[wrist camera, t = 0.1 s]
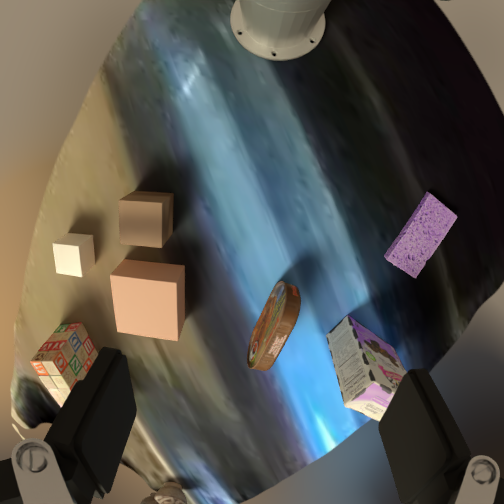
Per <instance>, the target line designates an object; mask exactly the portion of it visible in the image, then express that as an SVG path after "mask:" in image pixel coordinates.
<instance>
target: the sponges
mask: <svg viewBox="0 0 504 504" xmlns="http://www.w3.org/2000/svg"><path fill="white" fill-rule="evenodd" d="M456 218H457V216H456V215H455V214H454V213H453V212H452V211H450V210H449V209H448V208H447V207H446V206H444V205H443V204H442V203H441V202H440V201H439V200H437V199H436V198H435V197H434V196H433V195H432V194H430V193H429V192H426V194H425V196H424V197H423V199H422V200H421V202H420V204H419V205H418V207H417V209H416V210H415V212H414V213H413V214H412V216H411V218H410V219H409V221H408V222H407V224H406V225H405V227H404V228H403V229H402V231H401V232H400V234H399V235H398V237H397V238H396V239H395V241H394V242H393V244H392V245H391V246H390V248H389V249H388V251H387V252H386V254H385V255H384V257H385V258H386V259H387V260H388V261H390V262H391V263H392V264H394V265H395V266H398V267H399V268H400V269H402V270H403V271H405V272H406V273H408V274H409V275H411V276H412V277H414V278H416V277H417V275H418V274H419V272H420V271H421V270H422V268H423V267H424V265H425V264H426V261H427V260H428V259H429V258H430V257H431V256H432V254H433V253H434V251H435V250H436V249H437V247H438V246H439V244H440V243H441V241H442V240H443V238H444V237H445V235H446V234H447V232H448V231H449V229H450V227H451V226H452V225H453V223H454V222H455V220H456Z"/></svg>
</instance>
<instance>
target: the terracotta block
mask: <svg viewBox="0 0 504 504" xmlns="http://www.w3.org/2000/svg"><path fill="white" fill-rule="evenodd" d="M110 279H111V288H112V296H113V304H114V312H115V319H116V325H117V332H122V333H128V334H134V335H140V336H147V337H153V338H160V339H167V340H174V341H178V339H179V336H180V333H181V331H182V328H183V325H184V322H185V266H184V265H174V264H165V263H155V262H146V261H137V260H128V259H124V260H123V261H122V262H121V263H120V264H119V266H118V267H117V268H116V269H115V270H114V271H113V272H112V273H111V275H110Z"/></svg>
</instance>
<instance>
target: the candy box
mask: <svg viewBox="0 0 504 504" xmlns="http://www.w3.org/2000/svg"><path fill="white" fill-rule="evenodd" d="M326 338H327V341H328V345H329V349H330V352H331V356H332V360H333V364H334V367H335V371H336V375H337V378H338V383H339V386H340V390H341V394H342V398H343V402H344V406H345V407H347V408H351V409H353V410H356V411H358V412H360V413H362V414H364V415H366V416H368V417H370V418H372V419H375V420H377V421H379V422H380V420H381V418H382V416H383V414H384V413H385V411H386V409H387V407H388V405H389V403H390V401H391V400H392V398H393V396H394V394H395V392H396V390H397V388H398V386H399V384H400V382H401V380H402V378H403V376H404V375H405V374H407V372H406V370H405V369H404V367H403V365H402V363H401V361H400V359H399V357H398V355H397V353H396V351H395V349H394V348H393V347H392V346H391V345H389V344H388V343H386V342H385V341H384V340H382V339H381V338H379V337H378V336H377V335H375V334H374V333H373V332H371V331H370V330H368V329H367V328H366V327H364V326H363V325H361V324H360V323H359V322H357V321H356V320H354V319H353V318H352V317H350V316H349V315H347V316H346V317H345V318H344V319H343V320H342V321H341V322H340V323H339V324H338V325H337V326H336V327H334V328H333V329H332V330H331V331H330V332H329V333H328V334H327V335H326Z"/></svg>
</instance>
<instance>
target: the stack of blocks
mask: <svg viewBox="0 0 504 504" xmlns="http://www.w3.org/2000/svg"><path fill="white" fill-rule="evenodd" d="M97 356H98V353H97V351H96V349H95V347H94V345H93V343H92V341H91V339H90V337H89V335H88V333H87V331H86V329H85V327H84V325H83V323H82V322H80V323H72V324H65V325H60V326H59V327H58V328H57V329H56V330H55V331H54V333H53V334H52V335H51V336H50V338H49V339H48V340H47V341H46V342H45V343H44V344H43V346H42V347H41V348H40V349H39V350H38V352H37V354H36V355H35V356H34V357H33V358H32V360H31V361H30V362H31V364H32V366H33V367H34V369H35V370H36V372H37V373H38V375H39V378H40V379H41V381H42V382H43V384H44V385H45V387H46V388H48V390H49V392H50V393H51V395H52V396H53V397H54V399H55V400H56V401H57V402H58V404H59V405H60V406H61V407H62V406H63V404H64V402H65V400H66V399H67V397H68V395H69V393H70V392H71V390H72V388H73V386H74V385H75V383H76V382H77V381H78V380H83V379H84V378H85V376H86V374H87V373H88V371H89V369H90V367H91V366H92V364H93V362H94V361H95V359H96V357H97Z"/></svg>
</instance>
